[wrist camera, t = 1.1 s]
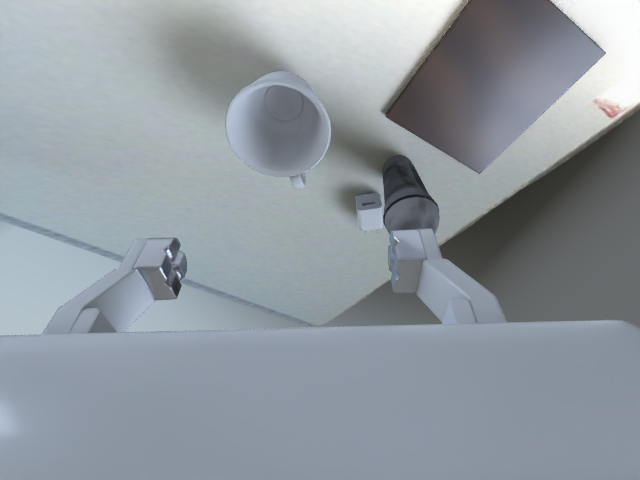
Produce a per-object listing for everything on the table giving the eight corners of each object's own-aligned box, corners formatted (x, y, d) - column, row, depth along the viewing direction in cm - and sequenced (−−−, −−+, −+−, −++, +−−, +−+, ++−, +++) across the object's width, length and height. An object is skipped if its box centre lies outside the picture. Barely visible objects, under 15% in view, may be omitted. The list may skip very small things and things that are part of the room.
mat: (501, -43, 38) (504, -42, 38) (602, 51, 45) (606, 53, 44) (385, 114, 50) (385, 117, 50) (477, 171, 56) (479, 173, 56)
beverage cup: (429, 173, 57) (466, 269, 42) (387, 195, 60) (408, 292, 45) (409, 138, 53) (442, 231, 38) (365, 163, 56) (381, 259, 41)
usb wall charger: (379, 192, 59) (382, 207, 56) (381, 224, 64) (384, 239, 61) (354, 195, 60) (356, 211, 57) (358, 226, 65) (360, 242, 62)
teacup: (265, 163, 56) (256, 203, 48) (224, 63, 46) (205, 95, 38) (342, 146, 54) (345, 185, 46) (317, 37, 44) (316, 66, 36)
